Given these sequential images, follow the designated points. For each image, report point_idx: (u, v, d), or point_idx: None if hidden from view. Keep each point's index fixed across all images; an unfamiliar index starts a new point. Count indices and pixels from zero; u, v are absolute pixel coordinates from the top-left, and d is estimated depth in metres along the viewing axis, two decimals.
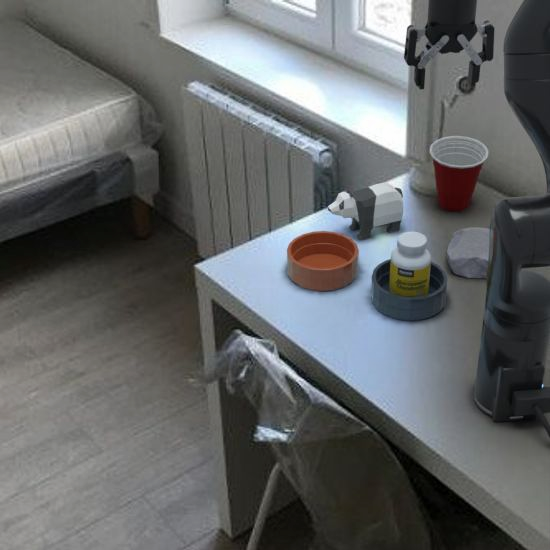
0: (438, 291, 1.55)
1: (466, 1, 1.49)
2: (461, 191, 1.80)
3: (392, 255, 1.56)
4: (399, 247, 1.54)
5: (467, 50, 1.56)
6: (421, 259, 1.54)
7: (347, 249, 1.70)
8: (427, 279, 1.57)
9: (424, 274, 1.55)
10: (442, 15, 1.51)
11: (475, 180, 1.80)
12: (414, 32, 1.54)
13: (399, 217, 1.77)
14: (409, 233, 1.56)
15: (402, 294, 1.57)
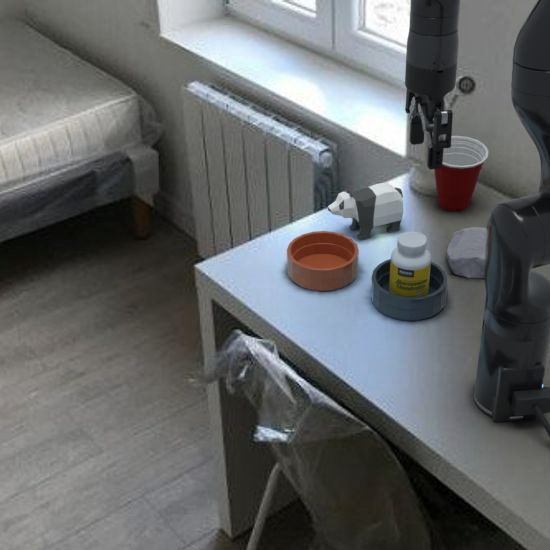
0: (438, 291, 1.55)
1: (410, 67, 1.42)
2: (461, 191, 1.80)
3: (392, 255, 1.56)
4: (399, 247, 1.54)
5: (422, 124, 1.46)
6: (421, 259, 1.54)
7: (347, 249, 1.70)
8: (427, 279, 1.57)
9: (424, 274, 1.55)
10: None
11: (475, 180, 1.80)
12: None
13: (399, 217, 1.77)
14: (409, 233, 1.56)
15: (402, 294, 1.57)
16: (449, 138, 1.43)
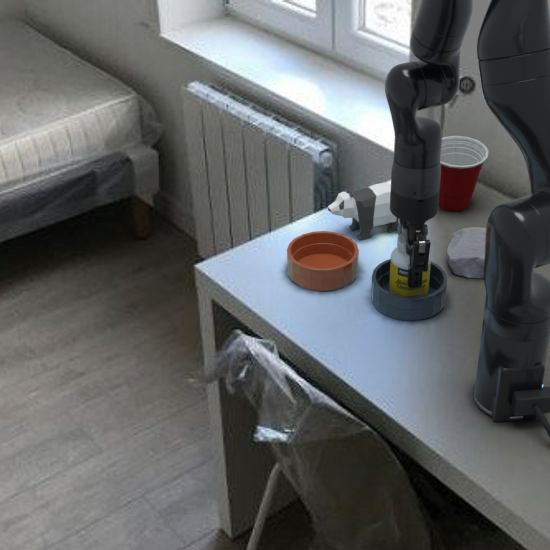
0: (438, 291, 1.55)
1: (393, 194, 1.48)
2: (461, 191, 1.80)
3: (392, 255, 1.56)
4: (399, 247, 1.54)
5: (404, 246, 1.52)
6: None
7: (347, 249, 1.70)
8: (427, 279, 1.57)
9: (424, 274, 1.55)
10: None
11: (475, 180, 1.80)
12: None
13: None
14: None
15: (402, 294, 1.57)
16: (426, 264, 1.49)
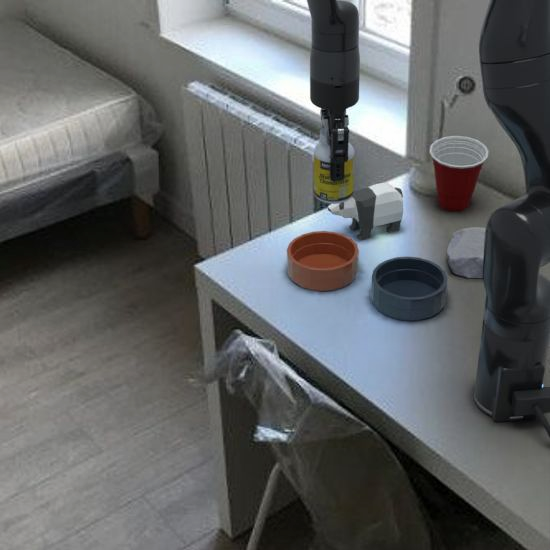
0: (438, 291, 1.55)
1: (312, 81, 1.46)
2: (461, 191, 1.80)
3: (315, 149, 1.54)
4: (321, 139, 1.52)
5: (325, 137, 1.50)
6: None
7: (347, 249, 1.70)
8: (351, 174, 1.54)
9: (346, 167, 1.53)
10: None
11: (475, 180, 1.80)
12: None
13: (399, 217, 1.77)
14: None
15: (325, 189, 1.55)
16: (346, 154, 1.47)
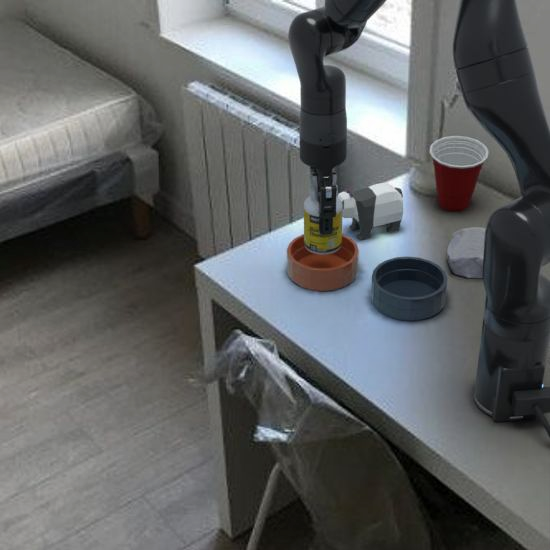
0: (438, 291, 1.55)
1: (301, 141, 1.53)
2: (461, 191, 1.80)
3: (305, 203, 1.61)
4: (310, 195, 1.59)
5: (314, 193, 1.57)
6: None
7: (347, 249, 1.70)
8: (339, 226, 1.61)
9: (335, 221, 1.60)
10: None
11: (475, 180, 1.80)
12: None
13: (399, 217, 1.77)
14: None
15: (315, 241, 1.62)
16: (334, 210, 1.54)
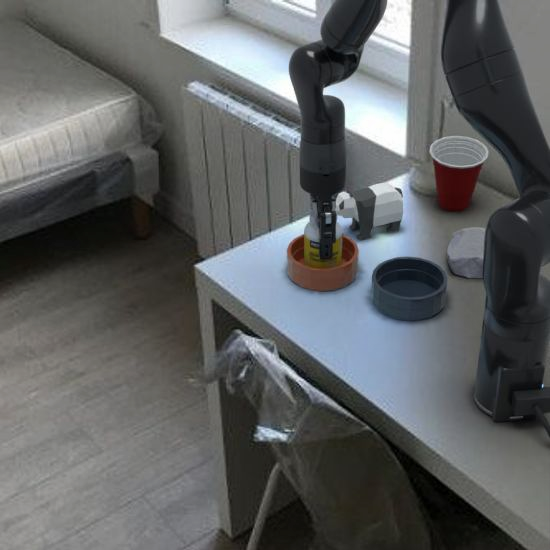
0: (438, 291, 1.55)
1: (301, 169, 1.55)
2: (461, 191, 1.80)
3: (305, 228, 1.63)
4: (310, 220, 1.62)
5: (314, 219, 1.60)
6: None
7: (347, 249, 1.70)
8: (339, 251, 1.64)
9: (334, 246, 1.62)
10: None
11: (475, 180, 1.80)
12: None
13: (399, 217, 1.77)
14: None
15: (315, 266, 1.64)
16: (334, 236, 1.57)
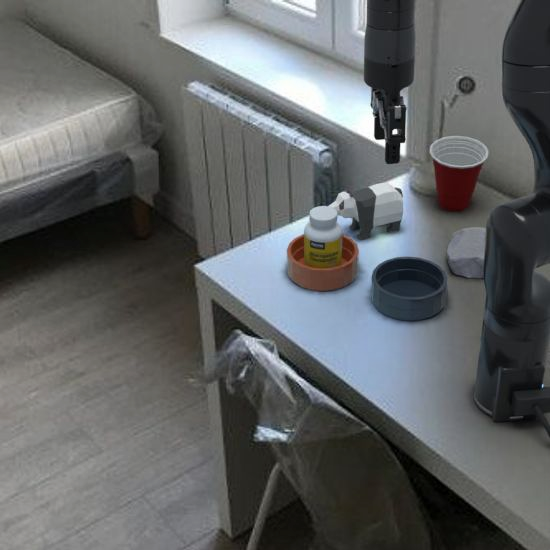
0: (438, 291, 1.55)
1: (367, 61, 1.43)
2: (461, 191, 1.80)
3: (305, 228, 1.63)
4: (311, 220, 1.62)
5: (380, 119, 1.47)
6: (332, 232, 1.61)
7: (347, 249, 1.70)
8: (339, 251, 1.64)
9: (334, 246, 1.62)
10: None
11: (475, 180, 1.80)
12: None
13: (399, 217, 1.77)
14: (321, 207, 1.63)
15: (315, 266, 1.64)
16: (403, 133, 1.43)
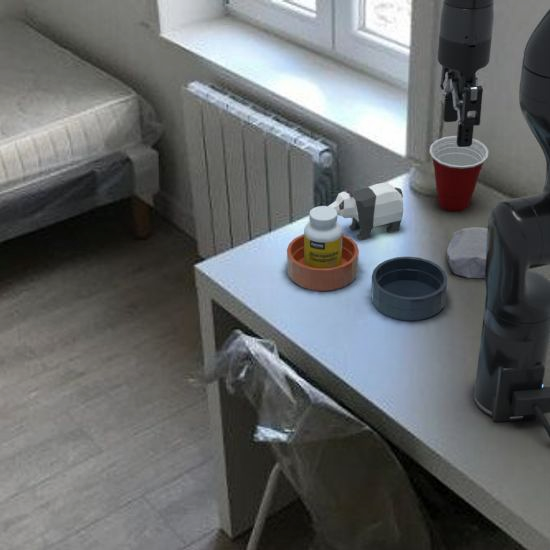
0: (438, 291, 1.55)
1: (443, 41, 1.39)
2: (461, 191, 1.80)
3: (305, 228, 1.63)
4: (311, 220, 1.62)
5: (453, 100, 1.43)
6: (332, 232, 1.61)
7: (347, 249, 1.70)
8: (339, 251, 1.64)
9: (334, 246, 1.62)
10: None
11: (475, 180, 1.80)
12: None
13: (399, 217, 1.77)
14: (321, 207, 1.63)
15: (315, 266, 1.64)
16: (478, 115, 1.40)
